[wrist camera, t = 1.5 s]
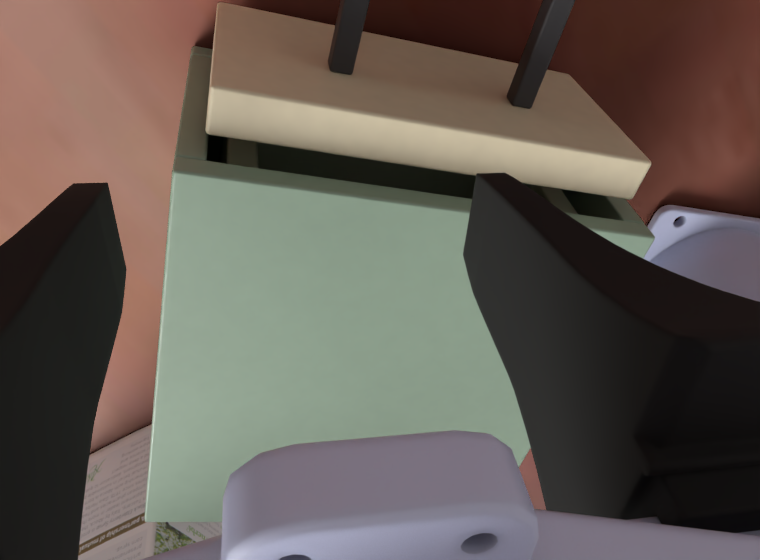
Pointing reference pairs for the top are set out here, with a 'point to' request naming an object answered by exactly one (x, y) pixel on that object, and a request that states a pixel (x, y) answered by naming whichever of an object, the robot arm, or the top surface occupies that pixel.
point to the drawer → (409, 109)
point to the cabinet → (316, 316)
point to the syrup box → (128, 507)
